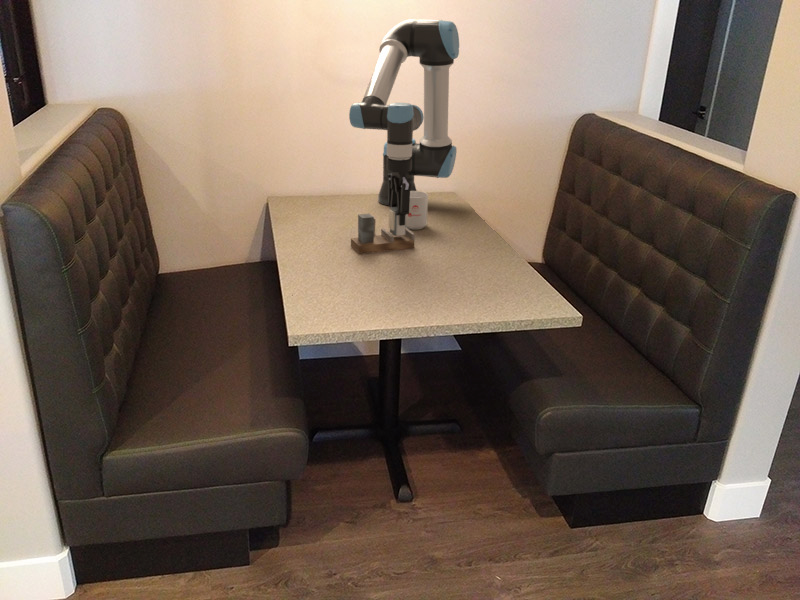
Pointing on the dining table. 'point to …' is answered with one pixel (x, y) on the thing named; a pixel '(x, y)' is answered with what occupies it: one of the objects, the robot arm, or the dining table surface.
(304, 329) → the dining table surface
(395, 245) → the wooden block stand
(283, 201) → the dining table surface
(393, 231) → the grey block tan top
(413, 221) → the mug
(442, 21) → the robot arm
